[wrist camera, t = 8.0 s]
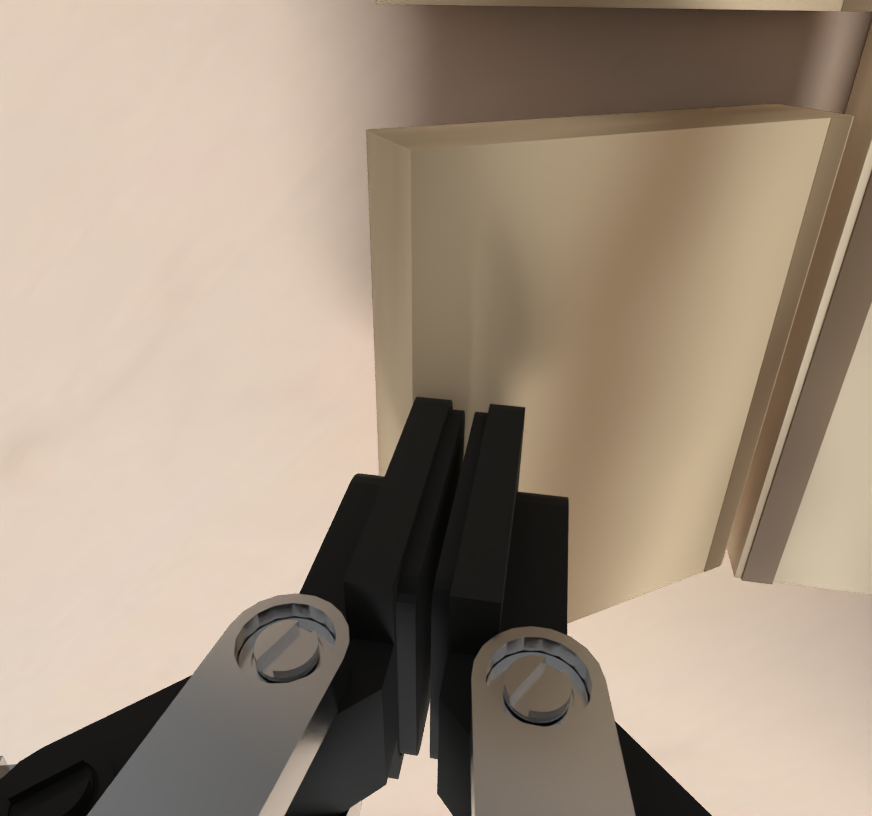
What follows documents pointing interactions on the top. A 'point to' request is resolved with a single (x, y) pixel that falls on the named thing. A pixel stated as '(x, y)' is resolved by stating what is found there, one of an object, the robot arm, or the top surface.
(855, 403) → the laid oak floor row
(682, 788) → the robot arm
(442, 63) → the top surface
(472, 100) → the top surface
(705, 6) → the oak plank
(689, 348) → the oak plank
